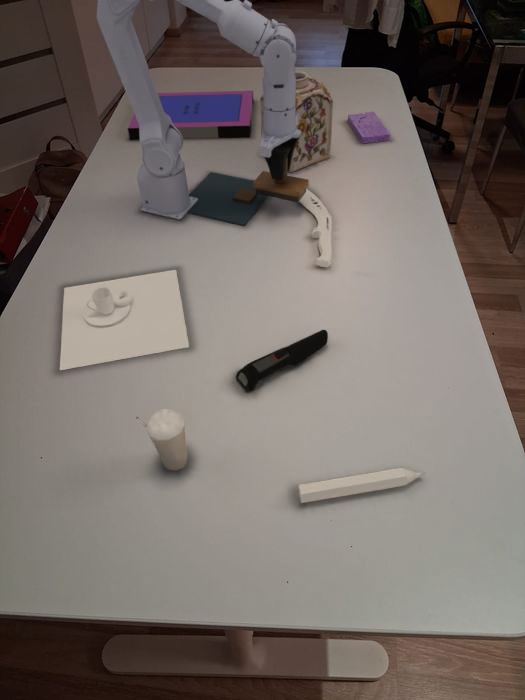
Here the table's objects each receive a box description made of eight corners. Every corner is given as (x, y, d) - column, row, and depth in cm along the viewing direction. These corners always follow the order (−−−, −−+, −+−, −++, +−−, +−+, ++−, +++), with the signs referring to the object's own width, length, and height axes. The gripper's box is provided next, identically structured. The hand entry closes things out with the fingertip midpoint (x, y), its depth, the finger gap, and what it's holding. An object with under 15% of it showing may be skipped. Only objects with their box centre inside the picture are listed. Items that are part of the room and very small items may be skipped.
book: (249, 125, 130) (127, 128, 132) (250, 137, 133) (130, 140, 134) (253, 90, 145) (142, 93, 146) (253, 101, 147) (145, 104, 148)
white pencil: (423, 481, 68) (299, 502, 67) (419, 464, 69) (296, 484, 67) (430, 481, 66) (302, 503, 64) (426, 463, 66) (299, 485, 65)
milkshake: (152, 447, 72) (137, 402, 65) (192, 444, 72) (182, 398, 65) (150, 477, 69) (134, 433, 62) (192, 473, 69) (181, 429, 62)
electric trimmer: (332, 351, 83) (334, 336, 81) (247, 394, 78) (246, 380, 75) (318, 337, 85) (319, 322, 83) (234, 378, 80) (233, 364, 78)
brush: (253, 194, 109) (251, 158, 103) (263, 182, 112) (262, 147, 106) (299, 203, 106) (300, 167, 100) (308, 191, 109) (309, 155, 103)
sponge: (373, 118, 137) (374, 111, 136) (389, 140, 129) (390, 133, 127) (346, 121, 137) (347, 114, 135) (361, 144, 128) (362, 136, 127)
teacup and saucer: (134, 291, 94) (129, 273, 91) (136, 322, 89) (131, 303, 86) (83, 300, 93) (76, 281, 90) (83, 331, 88) (75, 313, 85)
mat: (175, 210, 112) (174, 208, 111) (210, 173, 121) (210, 171, 121) (244, 226, 107) (244, 224, 106) (276, 186, 116) (276, 184, 116)
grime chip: (232, 200, 112) (232, 197, 112) (241, 191, 115) (240, 187, 114) (250, 204, 111) (250, 201, 111) (258, 194, 114) (257, 191, 113)
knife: (295, 179, 117) (331, 179, 116) (295, 186, 118) (331, 186, 117) (288, 260, 96) (332, 261, 95) (288, 268, 97) (331, 268, 96)
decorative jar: (331, 158, 124) (336, 76, 111) (290, 174, 120) (291, 91, 107) (299, 139, 131) (301, 60, 118) (260, 154, 127) (257, 73, 113)
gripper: (284, 125, 90) (285, 197, 100) (314, 92, 99) (312, 161, 109) (246, 119, 92) (250, 190, 102) (279, 87, 101) (280, 155, 111)
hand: (280, 175), depth 106 cm, fingers closed on brush, 2 cm apart
